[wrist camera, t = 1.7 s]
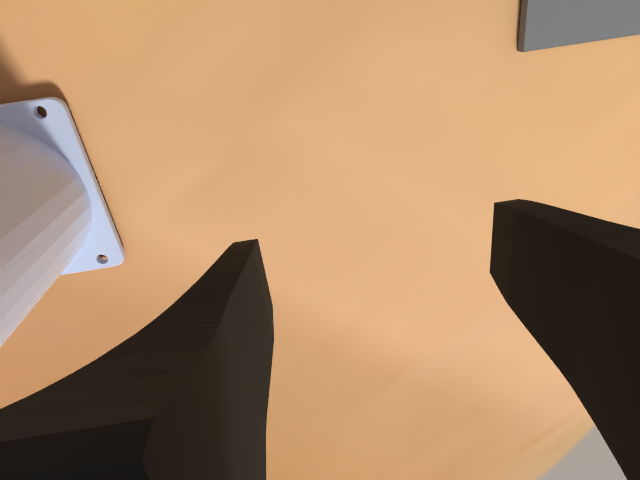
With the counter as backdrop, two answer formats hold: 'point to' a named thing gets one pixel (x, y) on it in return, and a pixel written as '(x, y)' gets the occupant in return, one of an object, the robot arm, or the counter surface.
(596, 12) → the mat
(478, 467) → the counter surface
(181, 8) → the counter surface
